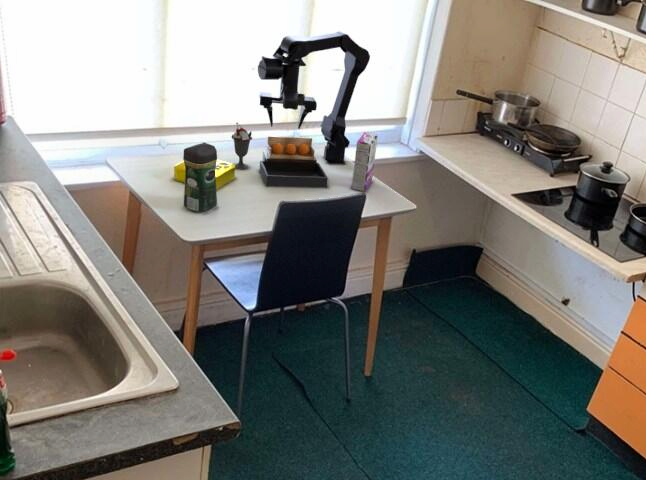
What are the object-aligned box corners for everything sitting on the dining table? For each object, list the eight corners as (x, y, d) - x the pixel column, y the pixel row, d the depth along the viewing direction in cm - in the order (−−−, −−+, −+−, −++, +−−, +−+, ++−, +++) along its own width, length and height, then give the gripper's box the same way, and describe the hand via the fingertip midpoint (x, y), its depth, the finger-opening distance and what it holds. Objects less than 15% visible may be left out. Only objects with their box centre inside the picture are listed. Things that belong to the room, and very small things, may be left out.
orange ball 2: (294, 154, 258) (294, 143, 256) (296, 155, 255) (297, 144, 253) (284, 153, 257) (284, 142, 255) (286, 154, 253) (286, 143, 252)
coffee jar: (200, 198, 231) (200, 138, 220) (221, 206, 229) (222, 145, 218) (178, 207, 224) (178, 145, 213) (199, 215, 221) (200, 153, 211)
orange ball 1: (281, 153, 256) (281, 142, 255) (283, 154, 253) (284, 143, 252) (271, 153, 255) (271, 142, 254) (273, 154, 252) (273, 143, 251)
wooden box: (310, 154, 260) (311, 138, 257) (314, 159, 256) (315, 143, 253) (266, 152, 256) (267, 136, 252) (269, 158, 251) (270, 141, 248)
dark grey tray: (317, 172, 263) (318, 162, 261) (326, 187, 253) (327, 177, 251) (259, 170, 256) (260, 160, 254) (266, 186, 246) (267, 175, 244)
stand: (310, 168, 265) (312, 152, 262) (315, 176, 260) (316, 160, 257) (262, 166, 260) (263, 150, 256) (265, 174, 254) (266, 158, 251)
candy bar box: (358, 178, 264) (364, 131, 255) (372, 181, 264) (378, 134, 254) (350, 189, 255) (356, 140, 245) (364, 192, 254) (371, 144, 245)
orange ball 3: (307, 154, 259) (307, 144, 258) (309, 155, 256) (310, 144, 255) (297, 154, 258) (297, 143, 257) (299, 155, 255) (299, 144, 254)
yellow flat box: (196, 166, 251) (196, 151, 249) (237, 177, 248) (237, 163, 246) (171, 179, 239) (171, 164, 237) (213, 191, 237) (214, 177, 234)
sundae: (226, 167, 255) (228, 122, 246) (237, 161, 260) (239, 117, 251) (243, 172, 253) (246, 127, 244) (254, 166, 258) (256, 122, 250)
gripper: (263, 83, 238) (259, 133, 247) (321, 89, 243) (316, 137, 252) (259, 73, 247) (256, 122, 256) (316, 79, 252) (311, 126, 261)
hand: (285, 127), depth 256 cm, fingers open, 9 cm apart
